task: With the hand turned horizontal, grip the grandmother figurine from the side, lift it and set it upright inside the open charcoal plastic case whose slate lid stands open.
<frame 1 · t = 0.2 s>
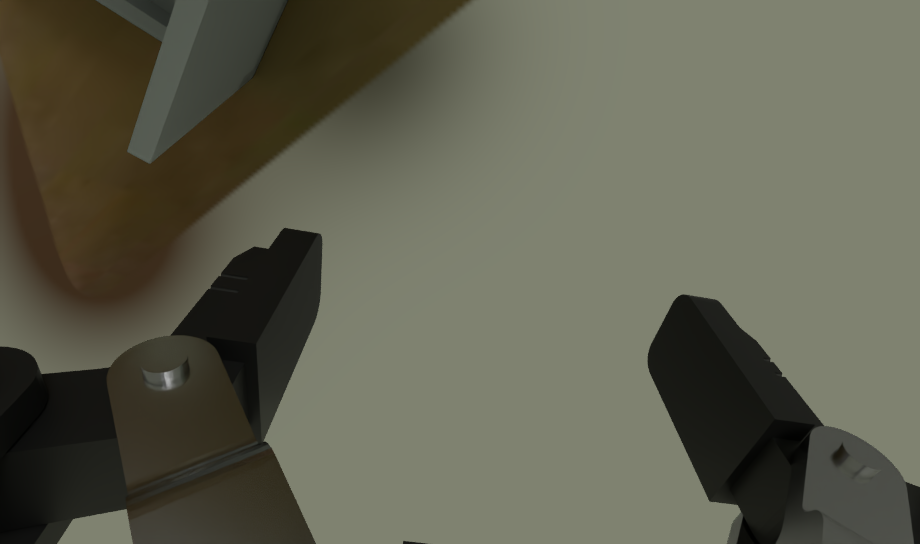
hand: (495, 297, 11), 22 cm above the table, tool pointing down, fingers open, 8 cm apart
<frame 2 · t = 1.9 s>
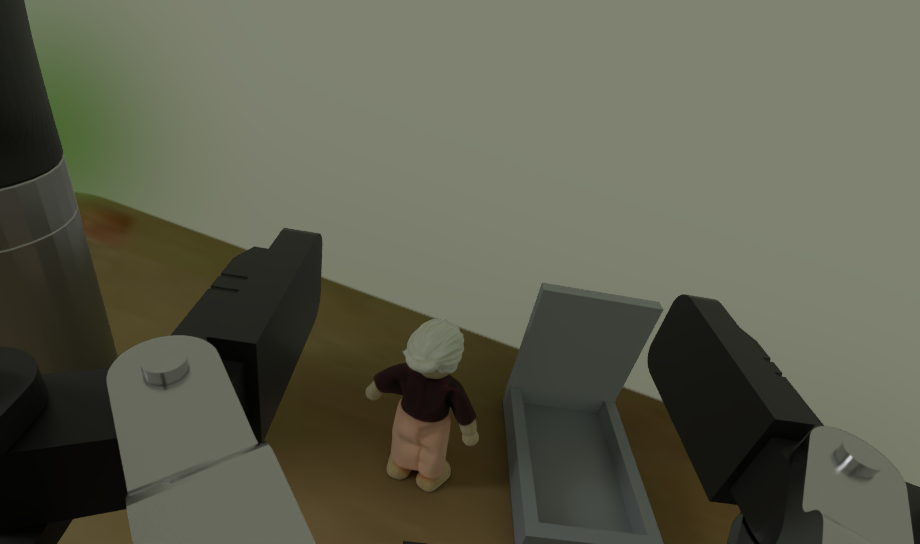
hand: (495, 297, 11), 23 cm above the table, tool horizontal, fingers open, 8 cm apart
grandmother figurine: (410, 466, 33), on the table
case: (566, 472, 35), on the table
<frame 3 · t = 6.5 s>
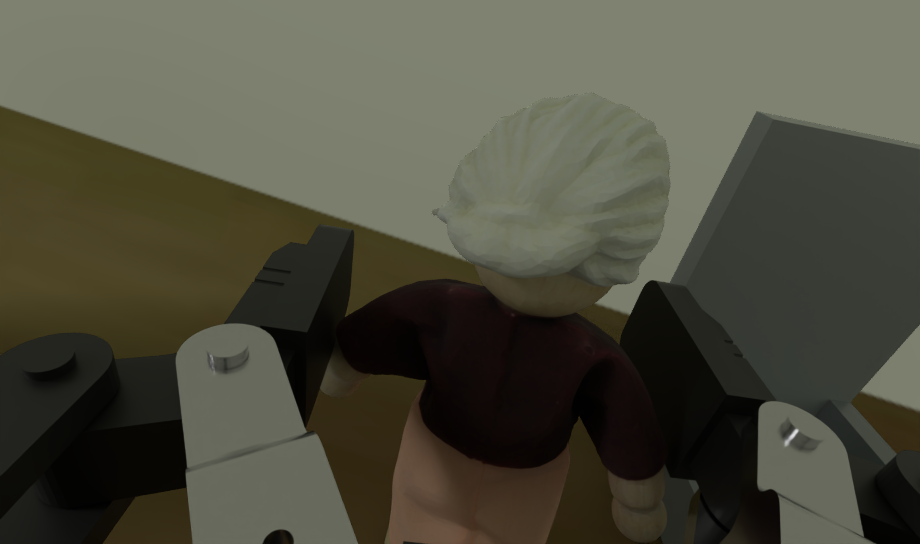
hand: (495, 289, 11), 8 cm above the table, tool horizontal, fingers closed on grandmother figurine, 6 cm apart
when the fingers open (10 cm above the table, at t = 11.0 s): grandmother figurine drops 1 cm, resting on case.
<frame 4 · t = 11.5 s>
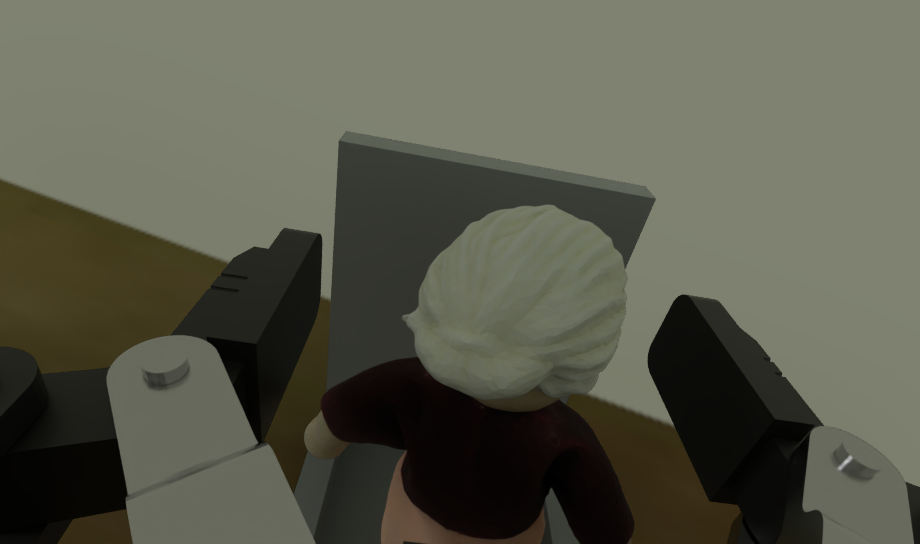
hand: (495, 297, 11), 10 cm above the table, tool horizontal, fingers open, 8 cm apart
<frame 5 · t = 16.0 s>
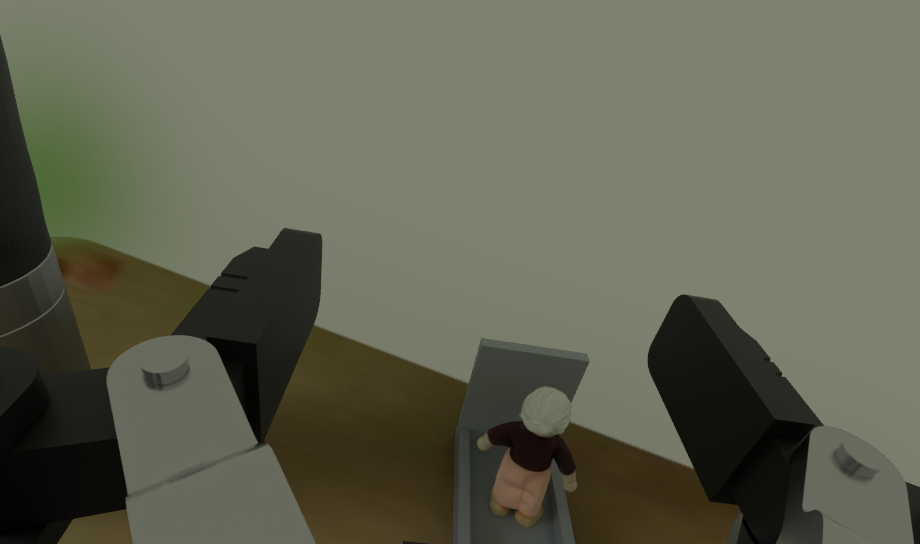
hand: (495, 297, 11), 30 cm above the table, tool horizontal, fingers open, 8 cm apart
grandmother figurine: (507, 504, 39), point 1 cm above the table, touching case
case: (505, 506, 39), on the table
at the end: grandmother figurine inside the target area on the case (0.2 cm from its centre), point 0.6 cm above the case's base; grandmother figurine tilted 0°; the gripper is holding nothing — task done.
